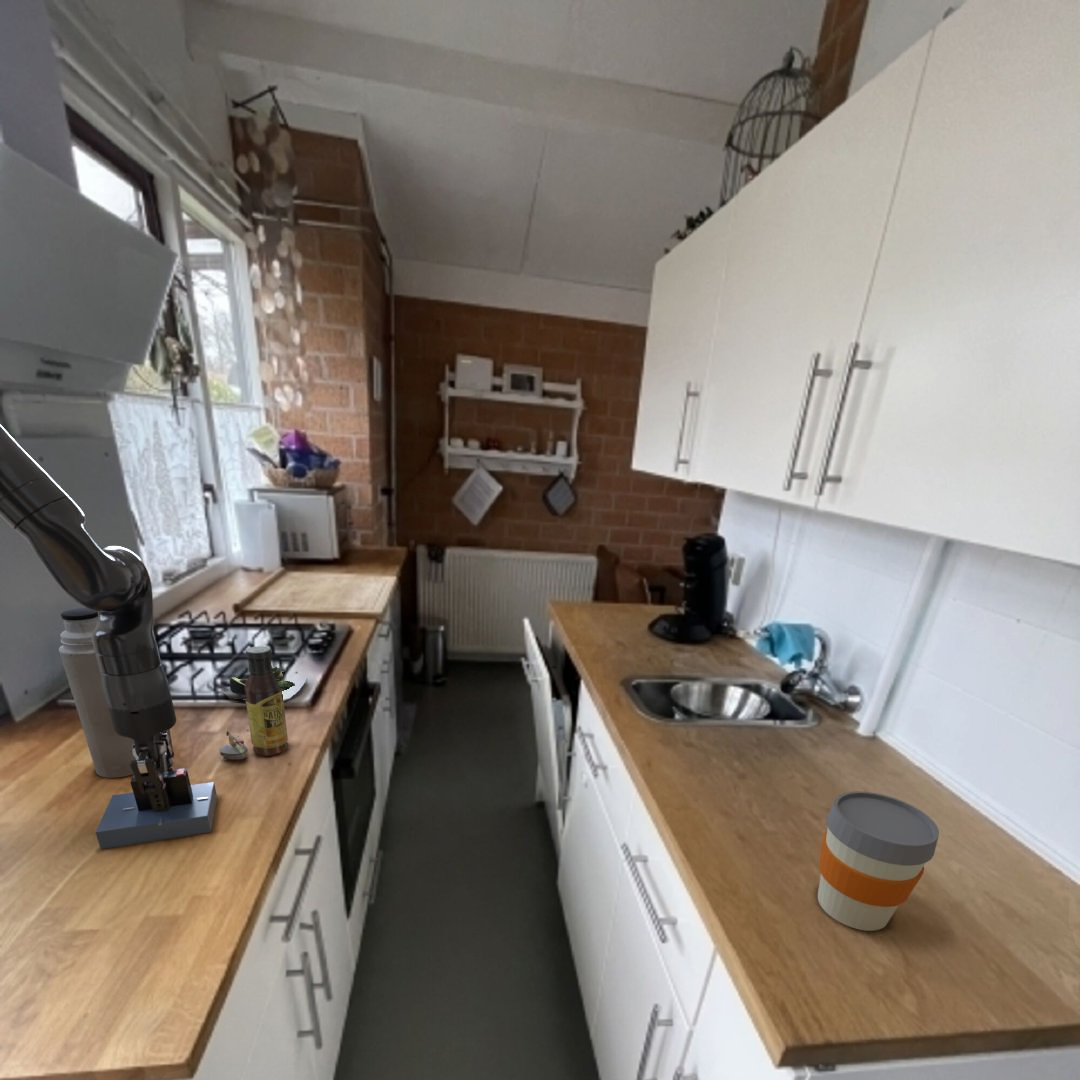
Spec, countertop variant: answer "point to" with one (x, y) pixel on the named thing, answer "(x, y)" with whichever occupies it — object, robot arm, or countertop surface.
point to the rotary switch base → (156, 819)
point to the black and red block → (175, 787)
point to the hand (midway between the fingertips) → (165, 799)
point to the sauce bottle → (264, 704)
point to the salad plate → (239, 684)
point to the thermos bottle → (92, 695)
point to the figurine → (234, 748)
